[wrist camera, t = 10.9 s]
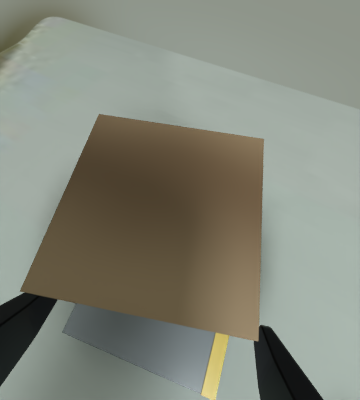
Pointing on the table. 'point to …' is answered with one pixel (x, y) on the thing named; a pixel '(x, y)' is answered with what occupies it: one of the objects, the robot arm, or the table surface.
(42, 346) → the table surface
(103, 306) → the brown block
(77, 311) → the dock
